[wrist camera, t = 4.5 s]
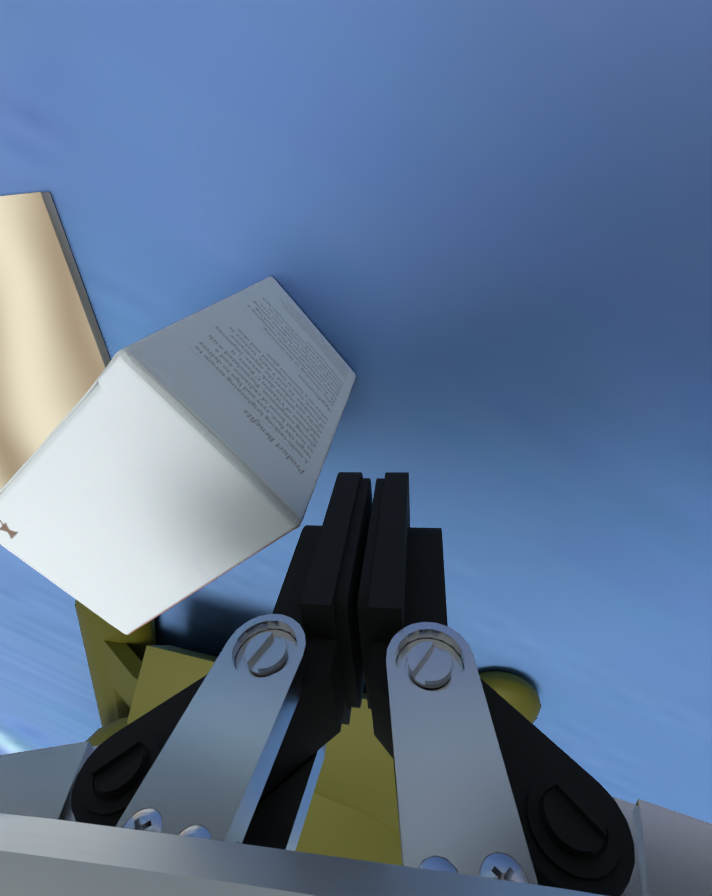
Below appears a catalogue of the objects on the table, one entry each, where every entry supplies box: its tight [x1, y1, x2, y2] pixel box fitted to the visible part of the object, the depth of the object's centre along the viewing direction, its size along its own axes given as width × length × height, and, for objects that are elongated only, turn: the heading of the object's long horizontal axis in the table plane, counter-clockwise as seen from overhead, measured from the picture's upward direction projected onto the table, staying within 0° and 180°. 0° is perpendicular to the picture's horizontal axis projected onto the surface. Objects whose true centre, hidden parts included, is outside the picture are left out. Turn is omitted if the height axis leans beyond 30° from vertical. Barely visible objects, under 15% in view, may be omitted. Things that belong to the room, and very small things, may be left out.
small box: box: [0, 276, 356, 635], centre depth 16 cm, size 8×6×10 cm
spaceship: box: [75, 600, 541, 866], centre depth 33 cm, size 35×31×10 cm
